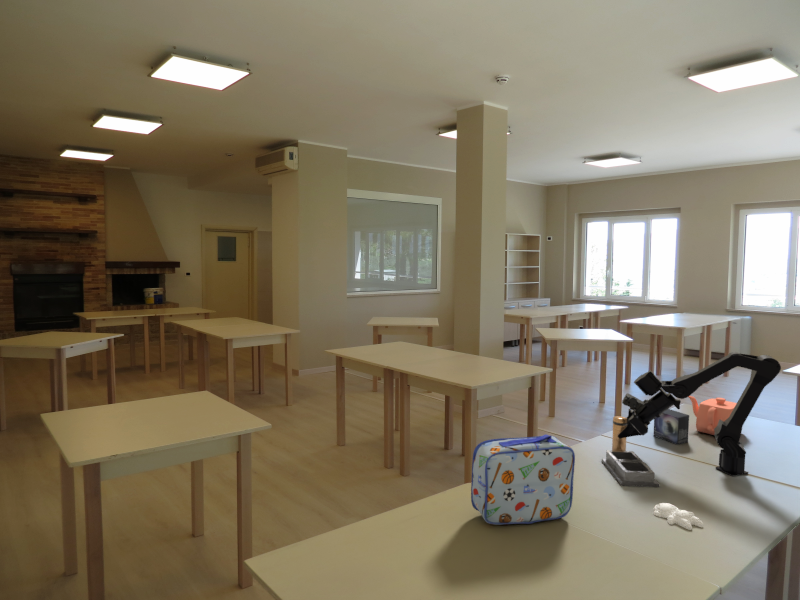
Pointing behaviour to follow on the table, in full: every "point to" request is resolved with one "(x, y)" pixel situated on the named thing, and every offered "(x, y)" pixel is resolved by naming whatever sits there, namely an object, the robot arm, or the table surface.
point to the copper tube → (618, 433)
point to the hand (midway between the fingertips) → (618, 433)
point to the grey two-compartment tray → (629, 469)
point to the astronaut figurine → (676, 515)
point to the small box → (672, 427)
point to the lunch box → (522, 479)
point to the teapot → (711, 413)
